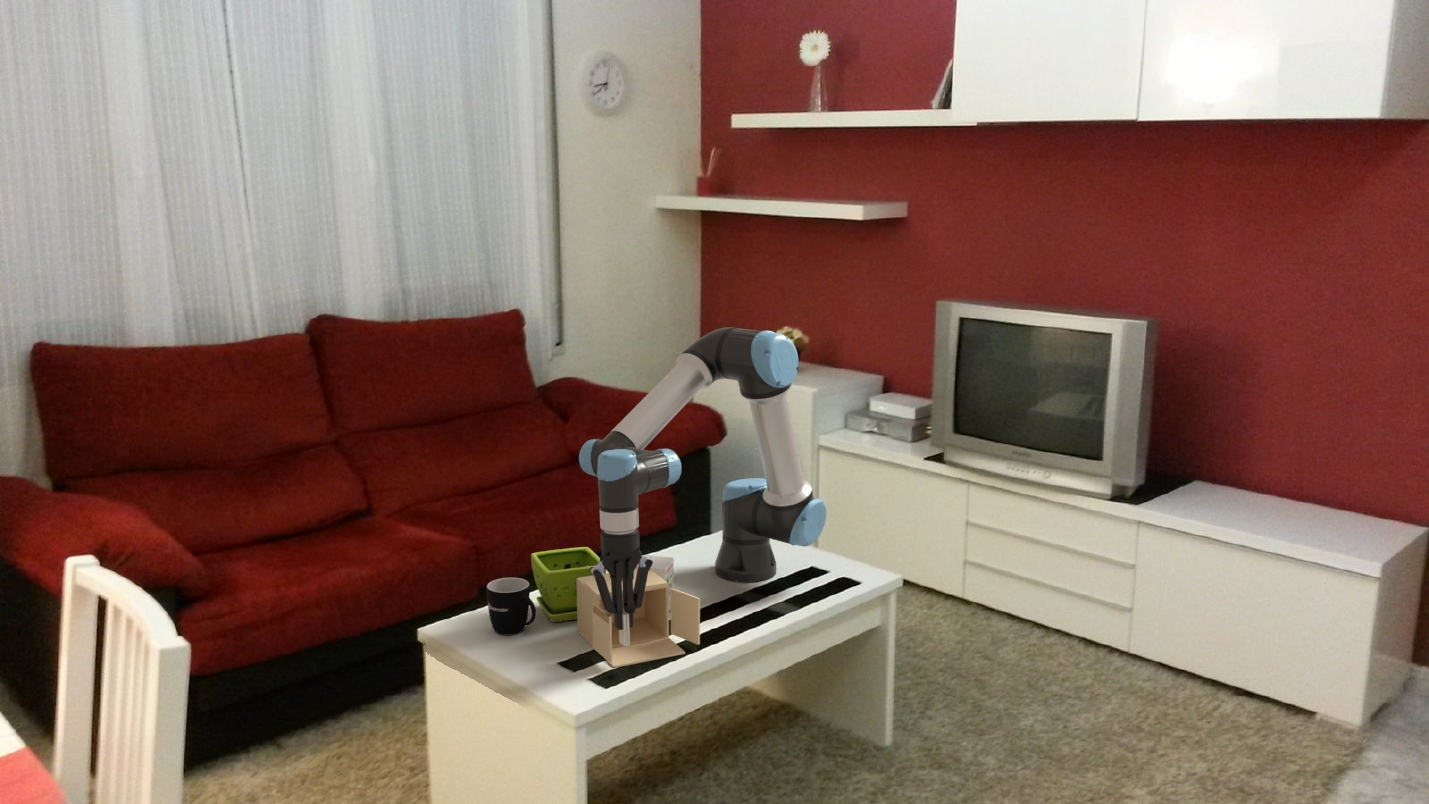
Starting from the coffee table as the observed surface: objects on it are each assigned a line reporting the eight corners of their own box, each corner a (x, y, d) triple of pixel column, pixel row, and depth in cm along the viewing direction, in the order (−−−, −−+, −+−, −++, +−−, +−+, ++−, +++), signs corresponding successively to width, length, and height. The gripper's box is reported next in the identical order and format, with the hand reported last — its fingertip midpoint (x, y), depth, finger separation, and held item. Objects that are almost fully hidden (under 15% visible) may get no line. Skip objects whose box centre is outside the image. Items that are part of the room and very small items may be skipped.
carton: (660, 616, 250) (660, 562, 248) (700, 650, 232) (701, 593, 230) (577, 631, 241) (576, 576, 239) (612, 668, 224) (612, 609, 221)
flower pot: (546, 628, 243) (545, 572, 240) (530, 606, 255) (528, 552, 253) (608, 619, 248) (608, 563, 246) (589, 597, 261) (588, 544, 258)
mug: (479, 631, 241) (477, 586, 239) (508, 618, 248) (507, 574, 246) (521, 644, 234) (519, 598, 232) (549, 630, 242) (548, 585, 240)
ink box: (665, 619, 248) (665, 569, 246) (627, 616, 250) (627, 566, 248) (674, 605, 257) (674, 556, 254) (638, 602, 258) (637, 553, 256)
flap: (612, 662, 223) (611, 616, 221) (610, 662, 223) (609, 617, 221) (595, 648, 230) (594, 603, 228) (592, 648, 229) (592, 603, 228)
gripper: (641, 519, 227) (645, 631, 231) (582, 529, 221) (587, 644, 225) (657, 528, 220) (661, 643, 224) (597, 539, 214) (602, 656, 218)
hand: (624, 643), depth 225 cm, fingers closed
